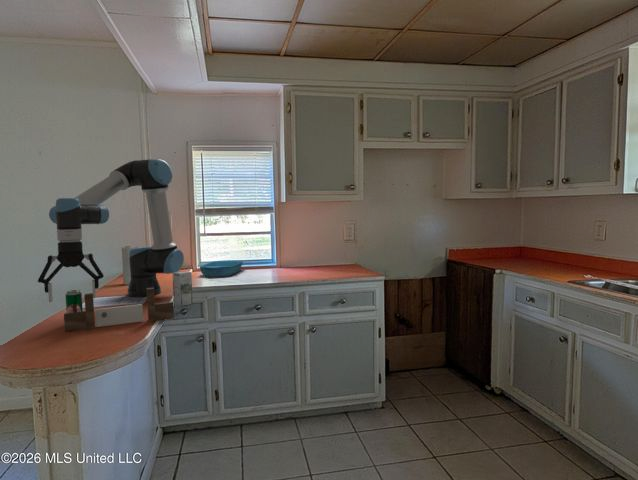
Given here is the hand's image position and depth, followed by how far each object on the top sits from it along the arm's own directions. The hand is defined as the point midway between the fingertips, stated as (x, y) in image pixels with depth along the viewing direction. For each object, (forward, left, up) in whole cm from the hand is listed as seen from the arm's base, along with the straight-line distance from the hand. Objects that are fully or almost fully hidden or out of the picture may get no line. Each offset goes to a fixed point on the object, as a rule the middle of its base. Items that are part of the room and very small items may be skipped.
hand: (73, 299), depth 146 cm
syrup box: (-10, +39, -9) cm, 42 cm away
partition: (+10, +16, -9) cm, 21 cm away
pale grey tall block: (-80, +19, -9) cm, 83 cm away
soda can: (0, 0, -9) cm, 9 cm away
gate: (+10, +15, -8) cm, 20 cm away
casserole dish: (-91, +73, -9) cm, 117 cm away
